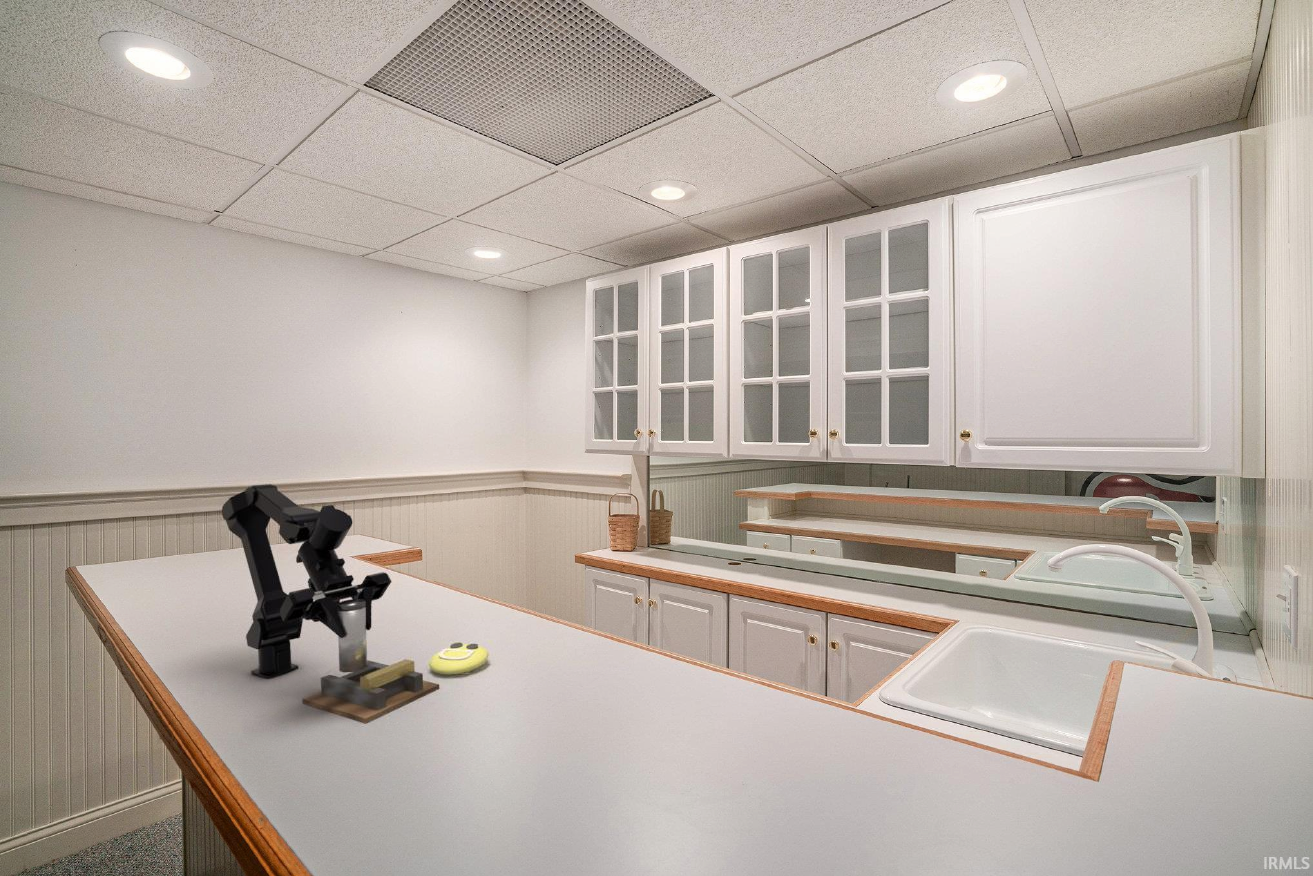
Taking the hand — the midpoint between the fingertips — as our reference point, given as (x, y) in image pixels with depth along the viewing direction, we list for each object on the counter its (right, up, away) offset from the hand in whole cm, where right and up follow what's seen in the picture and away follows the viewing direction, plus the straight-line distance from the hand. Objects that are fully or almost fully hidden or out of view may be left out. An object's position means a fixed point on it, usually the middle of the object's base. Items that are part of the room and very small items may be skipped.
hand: (356, 632), depth 114 cm
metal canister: (-1, -7, +1) cm, 7 cm away
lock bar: (+5, -9, +2) cm, 11 cm away
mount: (+1, -13, +5) cm, 14 cm away
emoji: (+13, -13, +18) cm, 26 cm away
